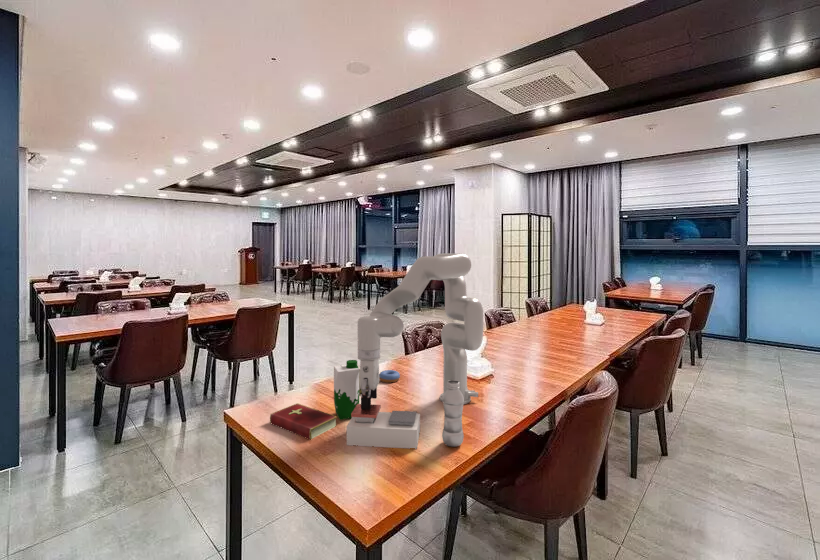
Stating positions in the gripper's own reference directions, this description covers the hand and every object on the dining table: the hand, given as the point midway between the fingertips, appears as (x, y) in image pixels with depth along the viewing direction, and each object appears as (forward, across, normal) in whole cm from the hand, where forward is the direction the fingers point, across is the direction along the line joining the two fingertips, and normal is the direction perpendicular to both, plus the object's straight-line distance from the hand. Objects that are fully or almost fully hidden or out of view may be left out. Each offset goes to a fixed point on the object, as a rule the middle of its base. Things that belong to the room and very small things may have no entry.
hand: (369, 403), depth 130 cm
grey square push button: (+8, -5, -12) cm, 15 cm away
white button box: (+9, -5, -6) cm, 12 cm away
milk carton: (+10, +11, +11) cm, 18 cm away
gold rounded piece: (+9, +35, +11) cm, 38 cm away
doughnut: (+9, +52, +1) cm, 52 cm away
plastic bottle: (+9, -7, -28) cm, 30 cm away
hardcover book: (+10, +2, +24) cm, 26 cm away
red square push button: (+6, -5, 0) cm, 8 cm away
